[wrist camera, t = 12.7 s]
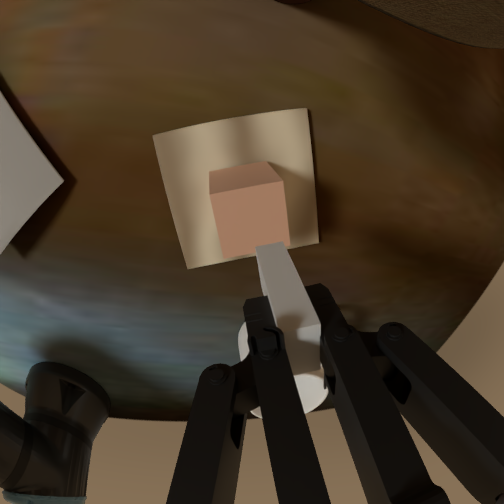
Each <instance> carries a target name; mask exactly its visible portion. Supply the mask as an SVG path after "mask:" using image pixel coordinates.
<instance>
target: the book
mask: <svg viewBox="0 0 504 504" xmlns="http://www.w3.org/2000/svg"><path fill="white" fill-rule="evenodd" d="M63 182H64V180H63V178H62V177H61V176H60V174H59V173H58V172H57V171H56V169H55V168H54V167H53V165H52V164H51V163H50V161H49V160H48V159H47V157H46V156H45V155H44V153H43V152H42V151H41V149H40V148H39V147H38V145H37V144H36V143H35V141H34V140H33V138H32V137H31V136H30V134H29V133H28V131H27V130H26V128H25V127H24V126H23V124H22V123H21V121H20V120H19V118H18V117H17V115H16V114H15V112H14V111H13V109H12V108H11V106H10V105H9V103H8V102H7V100H6V99H5V97H4V96H3V94H2V92H1V91H0V254H1V253H2V251H3V250H4V249H5V247H6V246H7V245H8V244H9V242H10V241H11V240H12V238H13V237H14V236H15V235H16V233H17V232H18V231H19V230H20V228H21V227H22V226H23V225H24V224H25V222H26V221H27V220H28V219H29V218H30V217H31V215H32V214H33V213H34V212H35V211H36V210H37V209H38V208H39V206H40V205H41V204H42V203H43V202H44V201H45V200H46V199H47V198H48V197H49V196H50V195H51V194H52V193H53V192H54V191H55V190H56V189H57V188H58V187H59V186H60V185H61V184H62V183H63Z"/></svg>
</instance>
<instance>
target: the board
mask: <svg viewBox="0 0 504 504" xmlns="http://www.w3.org/2000/svg"><path fill="white" fill-rule="evenodd" d="M153 140H154V144H155V149H156V153H157V157H158V161H159V166H160V170H161V174H162V178H163V182H164V186H165V190H166V193H167V197H168V201H169V205H170V209H171V212H172V216H173V220H174V223H175V227H176V230H177V234H178V238H179V241H180V244H181V248H182V251H183V255H184V258H185V262H186V265H187V268H188V269H191V268H196V267H201V266H206V265H211V264H216V263H221V262H226V261H231V260H236V259H241V258H246V257H251V256H256V252H255V253H251V254H246V255H241V256H236V257H231V258H226V259H224V258H223V254H222V249H221V245H220V241H219V236H218V232H217V227H216V223H215V218H214V214H213V209H212V204H211V200H210V195H209V171H214V170H219V169H224V168H230V167H235V166H240V165H246V164H251V163H257V162H263V161H266V162H267V163H268V164H269V165H270V166H271V167H272V168H273V170H274V171H275V172H276V173H277V174H278V175H279V177H280V178H281V179H282V180H283V184H284V193H285V201H286V210H287V218H288V227H289V237H290V246H285V247H286V249H291V248H296V247H301V246H305V245H310V244H315V243H319V238H318V221H317V207H316V193H315V181H314V170H313V159H312V149H311V140H310V131H309V122H308V114H307V108H299V109H290V110H281V111H274V112H266V113H259V114H253V115H246V116H240V117H234V118H228V119H223V120H218V121H212V122H207V123H203V124H198V125H193V126H189V127H184V128H180V129H175V130H171V131H167V132H163V133H159V134H155V135H153Z"/></svg>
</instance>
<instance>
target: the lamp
mask: <svg viewBox="0 0 504 504" xmlns="http://www.w3.org/2000/svg"><path fill="white" fill-rule="evenodd" d="M276 1H279V2H282V3H288V4H300V3H305V2H308V1H311V0H276ZM358 1H360V2H362V3H364V4H366V5H368V6H370V7H372V8H374V9H376V10H378V11H381V12H383V13H385V14H387V15H389V16H391V17H393V18H395V19H398V20H400V21H402V22H404V23H406V24H408V25H411V26H413V27H416V28H418V29H421V30H423V31H425V32H428V33H430V34H433V35H436V36H439V37H441V38H444V39H447V40H450V41H454V42H457V43H460V44H465V45H469V46H473V47H481V48H504V0H358Z"/></svg>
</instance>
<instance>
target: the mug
mask: <svg viewBox="0 0 504 504" xmlns="http://www.w3.org/2000/svg"><path fill="white" fill-rule="evenodd" d="M247 339H248V334H247V328H246V322H245V323H244V324H243V325H242V327H241V329H240V331H239V336H238V345H239V352H240V359H241V361H242V360H244V359H245V358H246V356H247V355H248V353H249V347H248V343H247ZM294 379H295V382H296V386H297V389H298V392H299V396H300V399H301V403H302V406H303V409H304V413H305V414H306V413H308V412H310V411H312V410H313V409H315V408H316V407H318V406H319V405H320V404H321V403H322V402H323V401H324V400H325V398H326V396H327V394H328V388H327V387H326V389H324V386H323V384H324V369H323V367H322V364H321V369H320V370H316V371H312V372H308V373H304V374H300V375H295V376H294ZM250 412H251V413H252V414H253V415H255V416H257V417H259V418H262V415H261V410H260V407H258V408H256V409H254V410H252V411H250Z"/></svg>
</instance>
